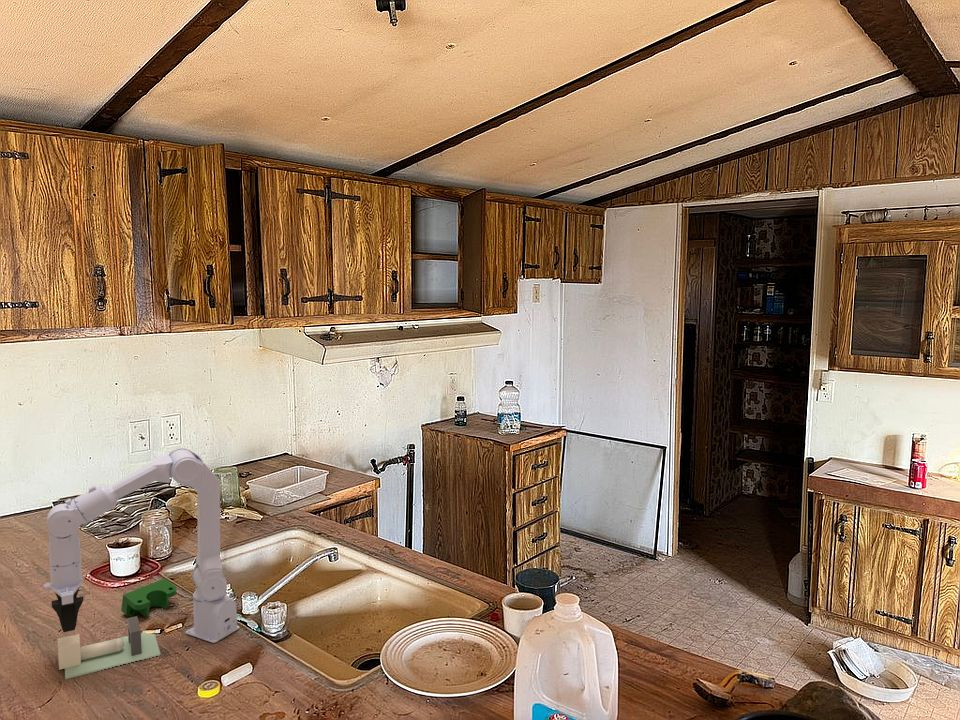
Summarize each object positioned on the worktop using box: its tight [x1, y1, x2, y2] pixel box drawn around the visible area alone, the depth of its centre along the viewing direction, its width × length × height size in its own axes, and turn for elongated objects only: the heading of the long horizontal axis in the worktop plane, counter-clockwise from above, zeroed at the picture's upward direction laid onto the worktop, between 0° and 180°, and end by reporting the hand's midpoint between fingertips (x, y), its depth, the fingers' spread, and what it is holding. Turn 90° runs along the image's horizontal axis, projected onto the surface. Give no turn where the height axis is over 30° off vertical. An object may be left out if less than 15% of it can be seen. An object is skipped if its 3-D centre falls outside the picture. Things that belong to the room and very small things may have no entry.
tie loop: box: [127, 615, 142, 656], centre depth 153 cm, size 2×7×5 cm, turn 32°
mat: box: [64, 631, 162, 680], centre depth 151 cm, size 18×12×1 cm, turn 122°
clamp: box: [120, 577, 178, 618], centre depth 171 cm, size 12×6×9 cm, turn 142°
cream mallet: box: [57, 633, 124, 670], centre depth 149 cm, size 12×4×5 cm, turn 122°
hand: (68, 622), depth 146 cm, fingers open, 7 cm apart
